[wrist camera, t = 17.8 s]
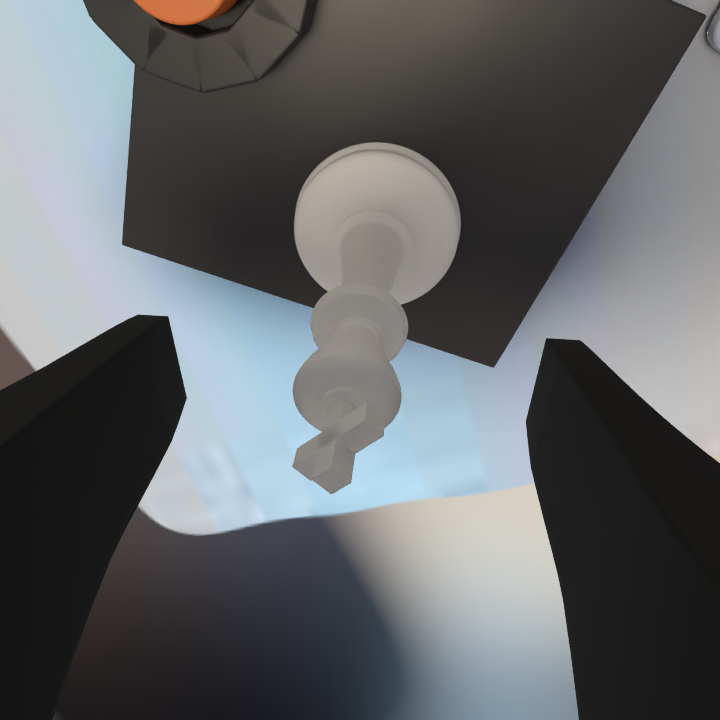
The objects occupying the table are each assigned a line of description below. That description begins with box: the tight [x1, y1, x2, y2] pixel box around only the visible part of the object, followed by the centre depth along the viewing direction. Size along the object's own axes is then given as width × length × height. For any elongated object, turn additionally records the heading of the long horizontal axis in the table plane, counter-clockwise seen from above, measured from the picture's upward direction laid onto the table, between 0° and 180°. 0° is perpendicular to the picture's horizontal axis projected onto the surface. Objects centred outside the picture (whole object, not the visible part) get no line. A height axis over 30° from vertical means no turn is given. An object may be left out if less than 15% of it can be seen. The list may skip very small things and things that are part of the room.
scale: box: [83, 0, 706, 367], centre depth 15 cm, size 14×11×2 cm
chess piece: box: [293, 142, 461, 494], centre depth 13 cm, size 5×5×10 cm
